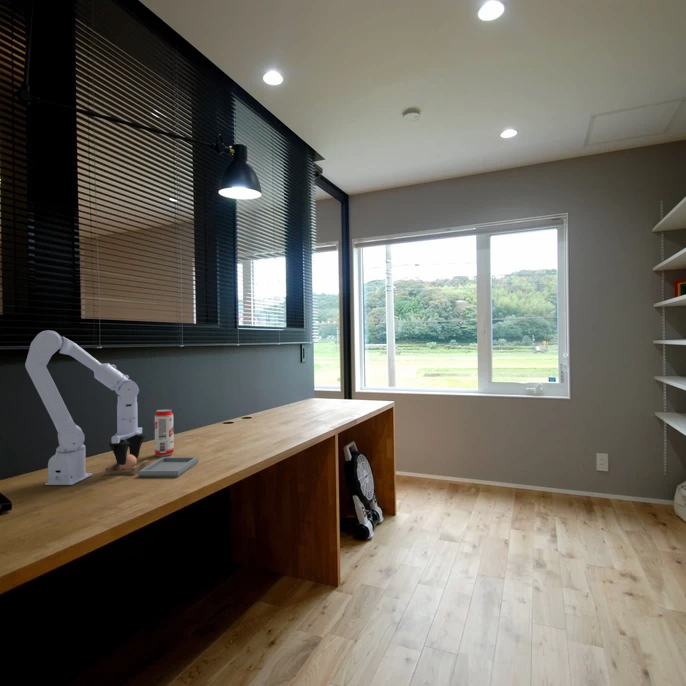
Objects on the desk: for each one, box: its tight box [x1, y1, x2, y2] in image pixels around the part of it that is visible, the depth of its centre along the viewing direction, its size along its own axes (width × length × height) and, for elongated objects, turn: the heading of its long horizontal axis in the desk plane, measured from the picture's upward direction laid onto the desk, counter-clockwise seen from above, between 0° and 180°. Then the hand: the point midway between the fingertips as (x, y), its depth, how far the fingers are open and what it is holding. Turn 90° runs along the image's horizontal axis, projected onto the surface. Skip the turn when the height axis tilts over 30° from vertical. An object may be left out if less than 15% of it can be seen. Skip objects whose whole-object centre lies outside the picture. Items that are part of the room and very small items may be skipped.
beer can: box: [154, 408, 175, 458], centre depth 152 cm, size 6×6×16 cm
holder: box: [104, 459, 150, 476], centre depth 133 cm, size 9×9×2 cm
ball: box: [119, 453, 138, 470], centre depth 133 cm, size 5×5×5 cm
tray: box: [138, 456, 199, 478], centre depth 134 cm, size 16×12×2 cm
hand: (128, 461), depth 133 cm, fingers open, 7 cm apart
